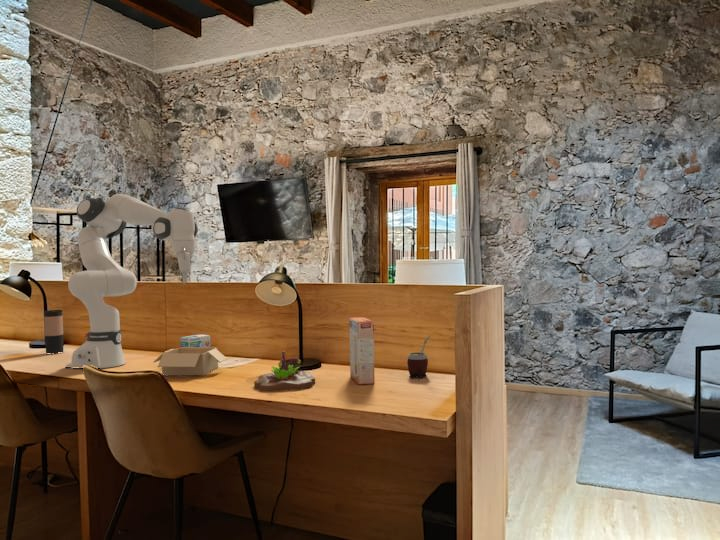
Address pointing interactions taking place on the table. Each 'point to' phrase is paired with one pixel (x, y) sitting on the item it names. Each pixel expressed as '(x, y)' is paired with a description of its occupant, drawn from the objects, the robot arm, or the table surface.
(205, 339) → the light bulb box
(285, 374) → the plant
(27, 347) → the table surface
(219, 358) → the flap
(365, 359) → the cracker box
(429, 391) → the table surface
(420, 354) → the mate gourd
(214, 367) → the carton
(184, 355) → the flap
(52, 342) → the travel mug
